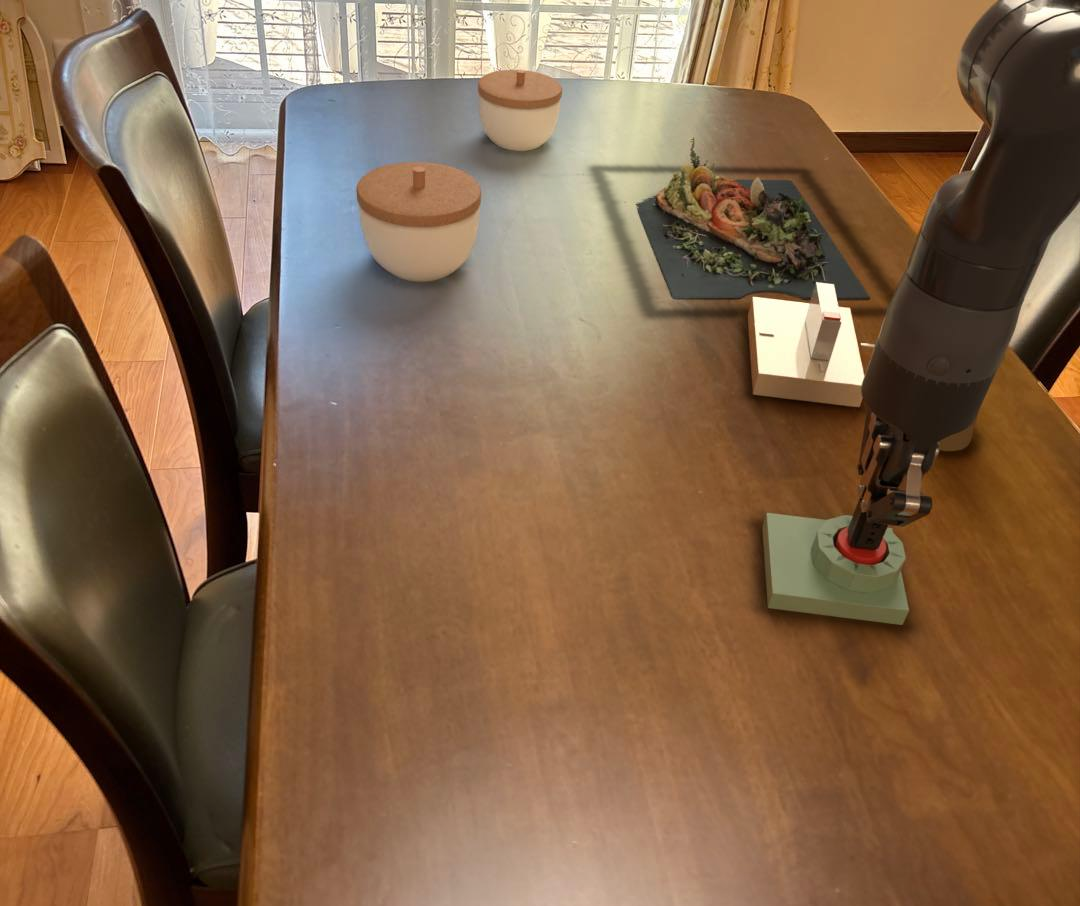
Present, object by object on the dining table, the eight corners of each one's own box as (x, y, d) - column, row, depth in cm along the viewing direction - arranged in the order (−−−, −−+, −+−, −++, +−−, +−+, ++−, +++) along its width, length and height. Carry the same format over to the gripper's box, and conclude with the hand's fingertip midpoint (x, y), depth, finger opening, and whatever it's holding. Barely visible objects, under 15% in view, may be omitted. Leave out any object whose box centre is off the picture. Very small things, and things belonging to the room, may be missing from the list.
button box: (884, 547, 83) (899, 511, 80) (900, 630, 76) (917, 593, 73) (760, 532, 83) (771, 495, 80) (765, 613, 76) (778, 576, 74)
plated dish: (591, 173, 130) (598, 116, 125) (799, 177, 135) (814, 122, 129) (650, 324, 105) (662, 260, 100) (904, 323, 110) (927, 261, 105)
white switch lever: (805, 319, 102) (816, 279, 99) (823, 321, 102) (835, 281, 99) (810, 358, 97) (822, 317, 94) (829, 360, 97) (842, 319, 93)
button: (876, 545, 79) (883, 528, 78) (882, 578, 76) (889, 561, 75) (829, 539, 79) (835, 523, 78) (834, 572, 76) (840, 555, 75)
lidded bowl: (338, 259, 110) (331, 159, 103) (435, 230, 116) (435, 134, 109) (403, 311, 103) (400, 208, 96) (502, 278, 110) (507, 178, 102)
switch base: (857, 334, 106) (866, 308, 104) (874, 414, 96) (885, 387, 94) (746, 321, 106) (752, 294, 104) (751, 399, 96) (758, 371, 94)
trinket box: (512, 169, 130) (516, 93, 123) (460, 139, 135) (460, 65, 128) (574, 149, 135) (580, 76, 129) (521, 122, 140) (525, 50, 134)
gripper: (1024, 413, 60) (926, 613, 72) (978, 298, 69) (898, 491, 81) (895, 398, 60) (818, 600, 72) (867, 285, 69) (804, 480, 81)
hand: (861, 542), depth 76 cm, fingers closed
